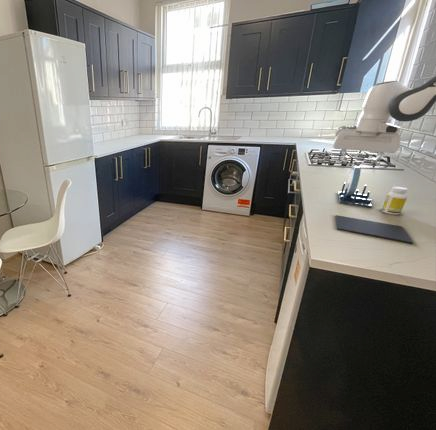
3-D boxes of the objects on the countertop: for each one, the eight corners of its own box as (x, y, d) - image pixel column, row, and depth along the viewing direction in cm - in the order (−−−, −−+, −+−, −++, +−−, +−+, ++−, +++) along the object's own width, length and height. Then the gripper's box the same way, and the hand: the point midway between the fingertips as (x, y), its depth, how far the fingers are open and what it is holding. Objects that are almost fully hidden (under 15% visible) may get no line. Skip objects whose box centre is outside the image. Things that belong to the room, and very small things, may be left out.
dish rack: (365, 197, 124) (370, 184, 121) (370, 208, 111) (376, 193, 109) (337, 193, 129) (341, 181, 127) (339, 203, 117) (343, 189, 114)
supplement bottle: (404, 214, 105) (414, 189, 101) (392, 215, 104) (402, 190, 100) (388, 209, 110) (398, 185, 106) (377, 210, 109) (386, 186, 105)
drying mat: (401, 228, 94) (402, 226, 94) (411, 244, 83) (412, 242, 83) (335, 216, 103) (335, 215, 103) (336, 229, 93) (337, 228, 92)
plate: (349, 192, 125) (358, 164, 120) (352, 200, 115) (362, 169, 110) (343, 192, 126) (352, 163, 122) (346, 199, 116) (356, 168, 111)
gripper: (338, 126, 113) (328, 160, 118) (407, 128, 102) (392, 166, 107) (337, 125, 118) (327, 157, 123) (403, 127, 107) (389, 163, 112)
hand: (358, 161), depth 115 cm, fingers open, 8 cm apart
